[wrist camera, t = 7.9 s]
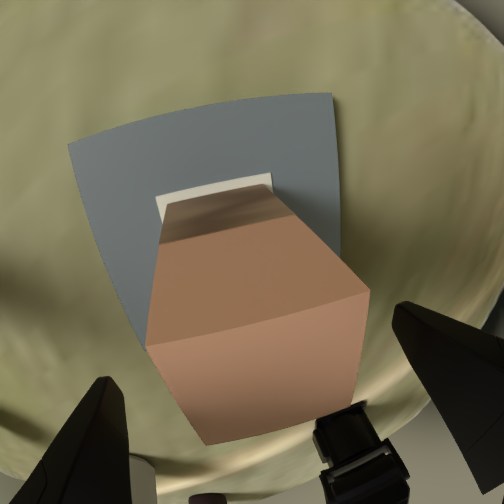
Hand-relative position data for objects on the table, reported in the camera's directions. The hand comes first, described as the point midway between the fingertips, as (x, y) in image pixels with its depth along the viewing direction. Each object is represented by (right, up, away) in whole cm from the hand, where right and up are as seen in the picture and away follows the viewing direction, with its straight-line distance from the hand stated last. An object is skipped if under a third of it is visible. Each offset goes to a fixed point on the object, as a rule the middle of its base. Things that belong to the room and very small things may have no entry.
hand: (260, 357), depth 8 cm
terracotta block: (-1, +2, +3) cm, 4 cm away
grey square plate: (-2, +4, +9) cm, 10 cm away
